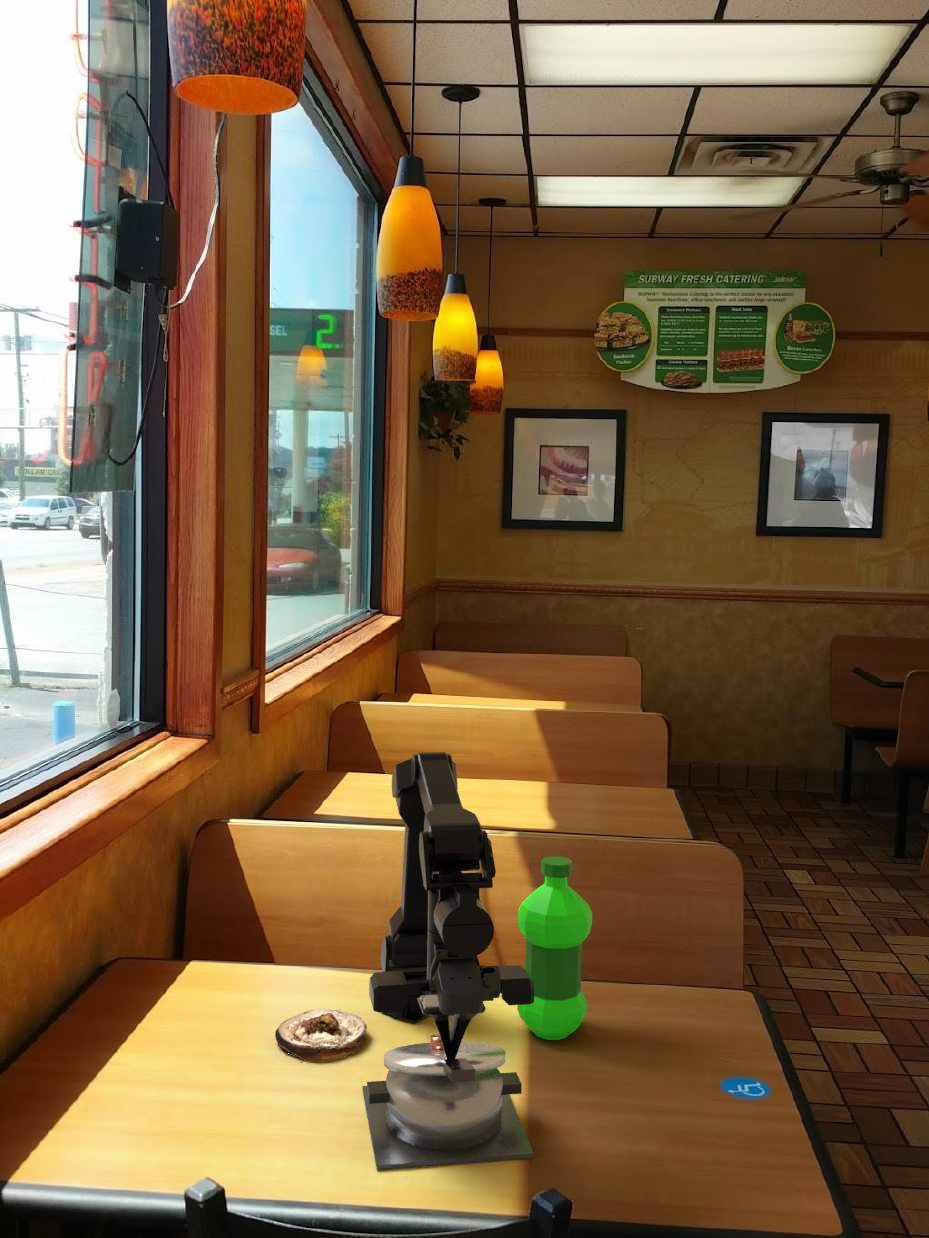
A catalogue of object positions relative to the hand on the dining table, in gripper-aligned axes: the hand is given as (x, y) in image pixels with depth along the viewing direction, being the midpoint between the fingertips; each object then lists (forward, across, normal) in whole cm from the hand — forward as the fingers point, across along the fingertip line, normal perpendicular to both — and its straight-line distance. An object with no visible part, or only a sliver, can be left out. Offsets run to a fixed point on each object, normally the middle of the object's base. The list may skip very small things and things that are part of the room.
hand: (450, 1059), depth 134 cm
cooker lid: (+1, 0, +1) cm, 2 cm away
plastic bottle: (+9, +19, +26) cm, 33 cm away
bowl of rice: (+9, -13, +28) cm, 32 cm away
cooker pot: (+10, 0, +4) cm, 10 cm away
